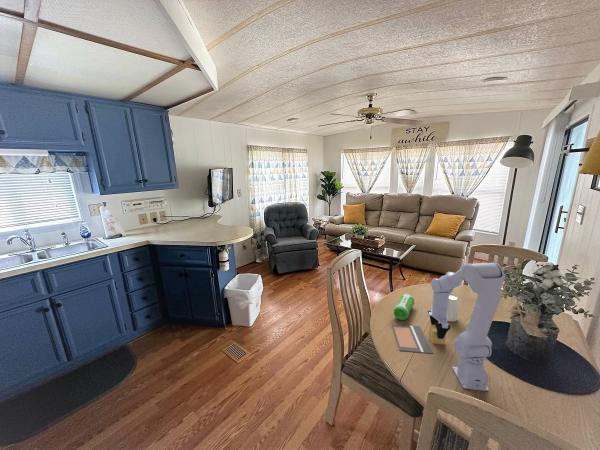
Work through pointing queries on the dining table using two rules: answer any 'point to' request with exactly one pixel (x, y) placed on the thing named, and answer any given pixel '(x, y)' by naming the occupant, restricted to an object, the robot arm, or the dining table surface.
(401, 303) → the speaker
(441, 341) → the block
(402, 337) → the mat
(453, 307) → the can
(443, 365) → the dining table surface
